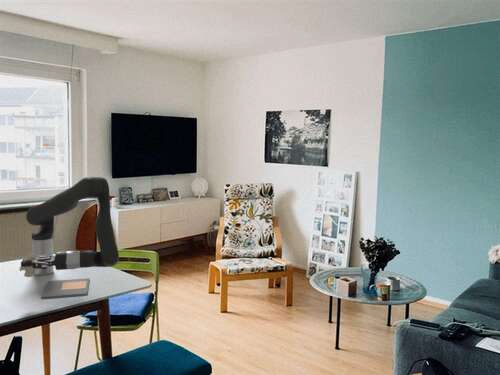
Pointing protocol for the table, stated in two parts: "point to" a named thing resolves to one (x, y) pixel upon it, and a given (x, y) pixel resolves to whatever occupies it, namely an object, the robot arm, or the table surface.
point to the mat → (66, 288)
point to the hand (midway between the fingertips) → (22, 262)
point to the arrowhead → (29, 270)
